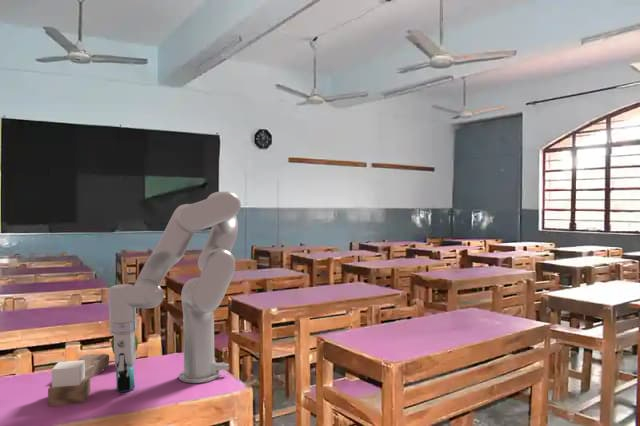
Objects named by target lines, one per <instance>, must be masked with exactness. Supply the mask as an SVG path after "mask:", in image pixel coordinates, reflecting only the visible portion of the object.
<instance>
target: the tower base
mask: <svg viewBox="0 0 640 426" xmlns="http://www.w3.org/2000/svg"><path fill="white" fill-rule="evenodd" d="M90 393H91V378H90V376H85V378H84V379H83V381H82V382H81V384H80V385H77V386H64V387H52V384H51V385H50V386H49V387H48V389H47V397H48V398H47V400H48V401H47V402H48V403H47V405H48V407H56V406H66V405H67V406H68V405H69V406H70V405H77V404H85V402H86V400H87V398H88V397H89V395H90Z"/></svg>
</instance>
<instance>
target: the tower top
mask: <svg viewBox="0 0 640 426" xmlns="http://www.w3.org/2000/svg"><path fill="white" fill-rule="evenodd" d="M77 360H78V359H77ZM77 360H70V361H69V360H68V361H67V360H65V361H64V360H63V361H58V362H57V363H56V364H55V365H54V366H53V368H52V369H51V385H52V387H64V386H77V385H80V384H81V382H82V381H83V379H84V378H85V360H78V361H77Z"/></svg>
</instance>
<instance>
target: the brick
mask: <svg viewBox="0 0 640 426" xmlns="http://www.w3.org/2000/svg"><path fill="white" fill-rule="evenodd" d="M78 360H85V376H90V379H92V378H94V377H95V376H97V375H98V374H100V373H101V372H102V370H103V369H104V370H106V369H107V368H108V367H109V365H110V354H107V353H106V354H105V353H95V354H94V353H92V354H85V355H82V356H81V357H79V358H78V359H77V360H76V361H78ZM107 366H108V367H107ZM104 370H103V371H104ZM99 372H100V373H99Z"/></svg>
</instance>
